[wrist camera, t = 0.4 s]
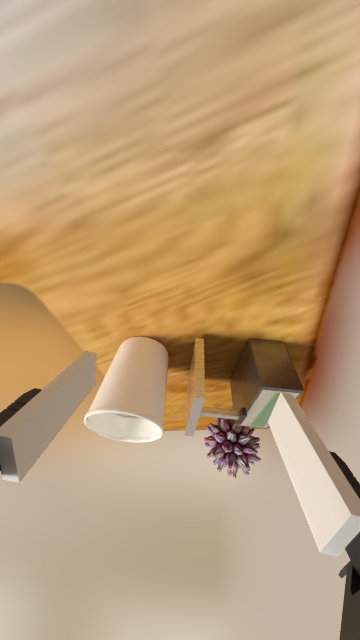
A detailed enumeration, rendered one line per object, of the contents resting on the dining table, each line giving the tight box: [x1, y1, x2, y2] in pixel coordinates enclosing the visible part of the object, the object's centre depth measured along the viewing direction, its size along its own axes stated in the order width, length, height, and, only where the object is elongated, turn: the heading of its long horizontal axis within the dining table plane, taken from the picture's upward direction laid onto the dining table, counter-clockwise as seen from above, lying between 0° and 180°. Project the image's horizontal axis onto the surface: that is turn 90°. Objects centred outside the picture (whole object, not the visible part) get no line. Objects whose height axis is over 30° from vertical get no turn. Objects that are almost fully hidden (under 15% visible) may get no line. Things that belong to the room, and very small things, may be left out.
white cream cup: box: [84, 337, 168, 442], centre depth 29 cm, size 10×10×12 cm
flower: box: [204, 418, 261, 478], centre depth 42 cm, size 12×12×12 cm
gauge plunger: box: [185, 338, 247, 436], centre depth 29 cm, size 12×7×9 cm, turn 176°
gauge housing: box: [230, 338, 304, 429], centre depth 30 cm, size 12×5×8 cm, turn 176°
